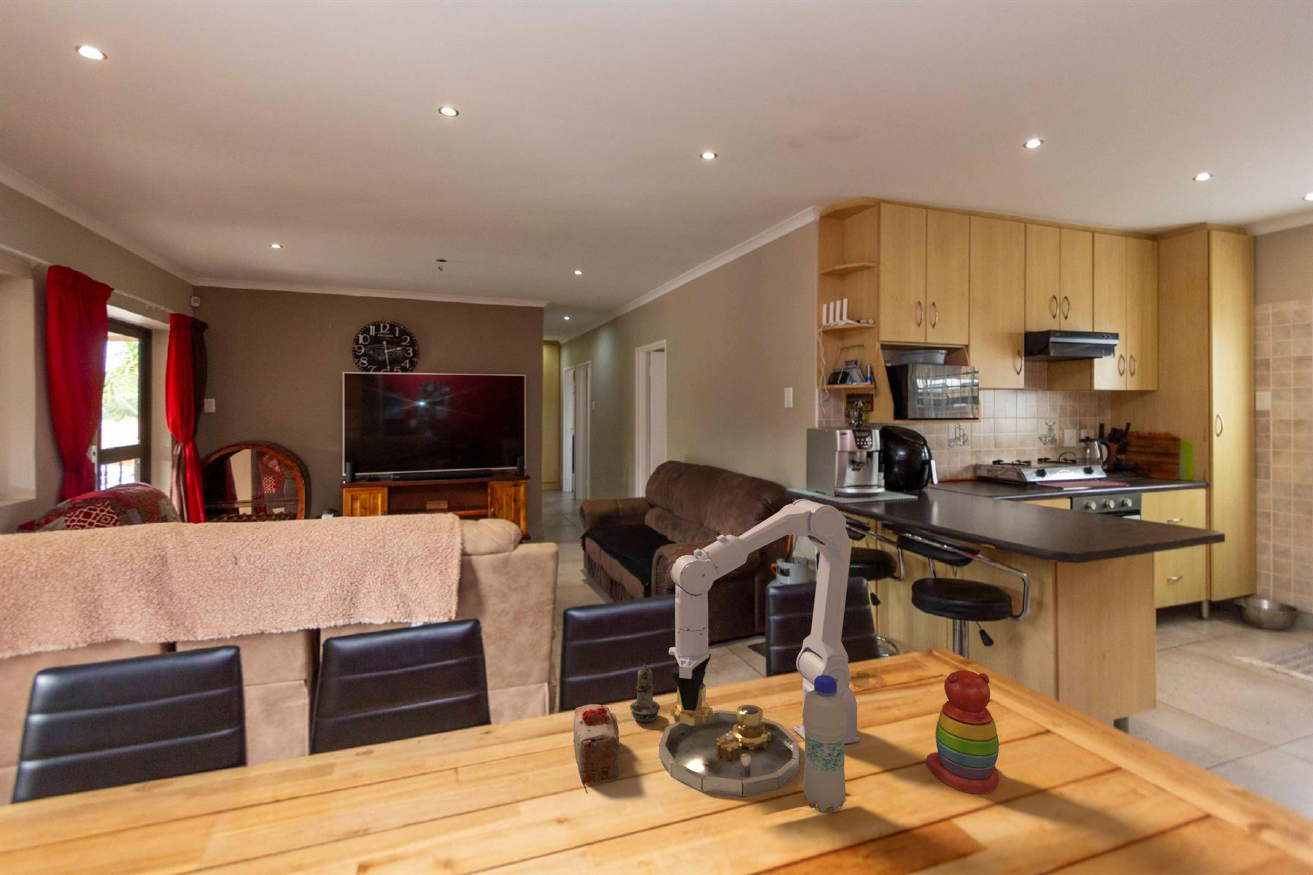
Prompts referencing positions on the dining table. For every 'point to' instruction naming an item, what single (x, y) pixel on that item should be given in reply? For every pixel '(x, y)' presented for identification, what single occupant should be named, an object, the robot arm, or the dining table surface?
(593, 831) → the dining table surface
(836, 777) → the bottle
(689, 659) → the robot arm
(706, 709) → the planet gear
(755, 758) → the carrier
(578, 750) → the food item
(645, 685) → the grey chess piece
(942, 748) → the stacking bear
